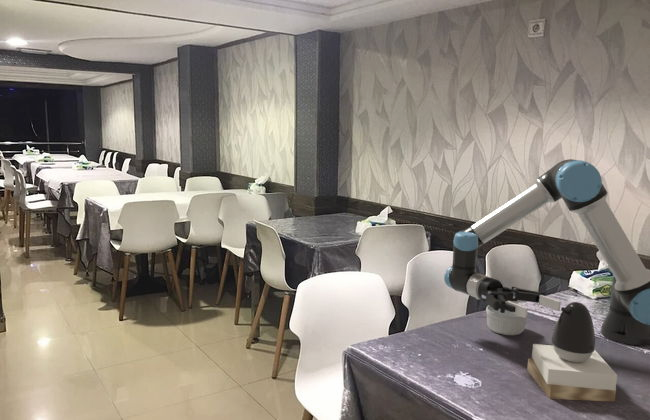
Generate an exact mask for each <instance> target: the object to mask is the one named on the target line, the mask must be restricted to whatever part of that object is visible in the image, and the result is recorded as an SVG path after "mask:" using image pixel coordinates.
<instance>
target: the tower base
mask: <svg viewBox="0 0 650 420" xmlns="http://www.w3.org/2000/svg"><path fill="white" fill-rule="evenodd" d="M526 368H527V372H528V373H529V374H530V375H531V376H532V378H533V379H534V381H535V382H536V383H537V385H538V386H539V387H540V388H541V389H542V391H543V392H544V393H545V395H547V397H548V398H549V399H550V400H572V401H593V402H594V401H596V402H614V403H615V402H616V393H617V389H616V390H605V389H594V388H584V387H573V386H562V385H551V384H547V383H546V381H545V379H544V378H543V376H542V374H541V373H540V371H539V369H538V367H537V366H536V364H535V362H534V360H533V359H532V358H527V367H526Z"/></svg>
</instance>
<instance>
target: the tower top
mask: <svg viewBox="0 0 650 420" xmlns="http://www.w3.org/2000/svg"><path fill="white" fill-rule="evenodd" d="M531 359H533V360H534V362H535V364H536V366H537V367H538V369H539V371H540V373H541V374H542V376H543V378H544V379H545V381H546V383H547V384H551V385H562V386H573V387H584V388H594V389H605V390H616V391H617V380H618V374H617V373H616V372H615V371H614V369H612V367H611V366H610V365H609V364H608V363H607V362H606V361H605V360H604V358H603V357H602V356H601V355H600V354H599V353H598V352H597V351H596V349H595V350H594V352H593V353H592V355H591V357H590V358H589V359H588V360H586V361H584V362H570V361H566V360H564V359H562V358H561V357H559V356H558V355H557V353H556V352H555V350H554V347H553V344H552V345H549V344H541V343H533V344H532V352H531Z"/></svg>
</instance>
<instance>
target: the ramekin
mask: <svg viewBox="0 0 650 420" xmlns="http://www.w3.org/2000/svg"><path fill="white" fill-rule="evenodd" d="M500 310H501V309H499V310H498V311H496V310H494V309H493V308H492V307H491V306H490V305H489V304H488V305H487V306H486V309H485V312H486V324H487V327H488V328H489V329H490V331H492V332H494V333H496V334H501V335H504V336H517V335H520V334H522V333H523V332H524V330H525V326H526V322H527V318H528V315H529V313H528V312H527V318H523V317H521V316H518V315H516V314H513V313H511V312H508V311H506V310H505V313H501V312H500Z"/></svg>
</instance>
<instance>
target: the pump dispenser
mask: <svg viewBox="0 0 650 420" xmlns="http://www.w3.org/2000/svg"><path fill="white" fill-rule="evenodd" d="M560 311H561V312H560V315H559V316H558V319H557V321H556V324H555V326H554V329H553V333H552V337H551V344H552V346H553V347H554V350H555V352H556V353H557V355H558V356H559V357H561V358H562V359H564V360H566V361H570V362H584V361H586V360H588V359H589V358H590V357H591V355H592V353H593V352H594V350H595V351H596V335H595V328H594V323H593V318H592V316H591V313H590V311H589V309H588V307H587V306H586V305H585V304H583V303H582V302H578V301H573V302H569V303H568V304H567V305H566V306H565V307H562V306H561V307H560Z"/></svg>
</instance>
